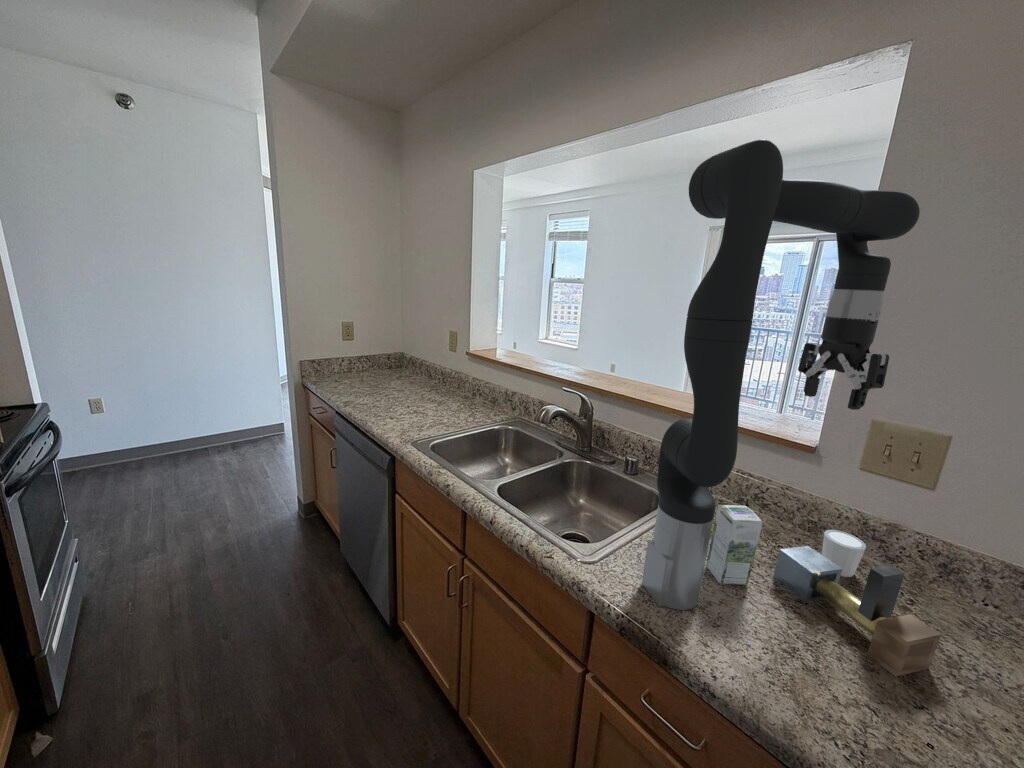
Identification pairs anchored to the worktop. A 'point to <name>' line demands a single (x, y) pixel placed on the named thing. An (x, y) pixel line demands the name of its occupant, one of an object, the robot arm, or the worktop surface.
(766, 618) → the worktop surface
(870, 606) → the slide bolt
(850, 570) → the shot glass
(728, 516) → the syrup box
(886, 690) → the worktop surface
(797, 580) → the block
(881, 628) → the socket block
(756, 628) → the worktop surface
